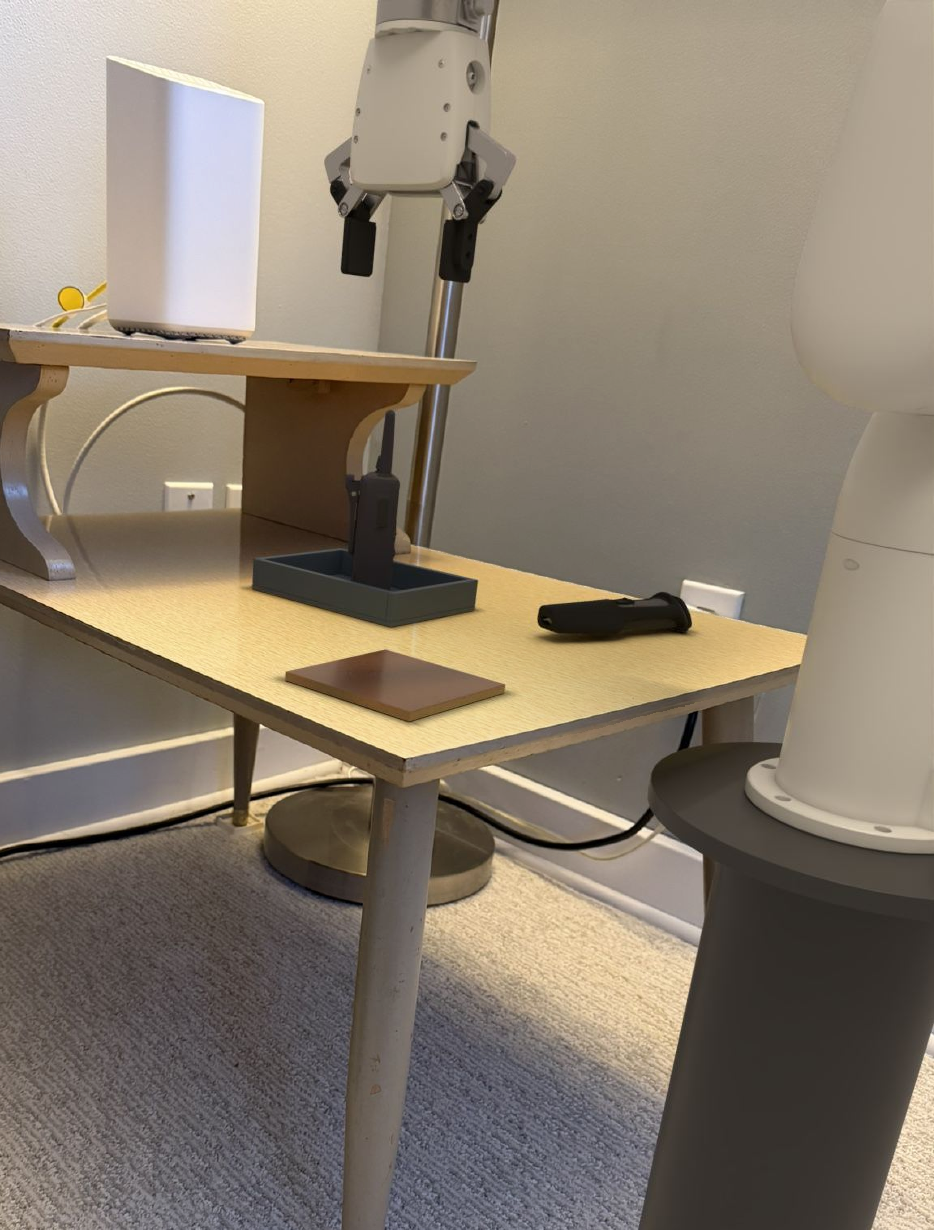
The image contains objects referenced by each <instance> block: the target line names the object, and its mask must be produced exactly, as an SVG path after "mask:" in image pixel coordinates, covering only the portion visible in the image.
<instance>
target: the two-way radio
mask: <svg viewBox="0 0 934 1230" xmlns="http://www.w3.org/2000/svg"><path fill="white" fill-rule="evenodd" d="M395 426H396V413H395V411H394V410H393V409H388V410H387V411H386V412H385V415H384V423H383V430H382V438H381V447H380V455H378V456H377V459H376V463H375V469H376V470H375V471H369V472H367V473H366V474H363V475H361V476H360V479H359V480H357V479H355V474H353V473H352V474H350V473H346V474H345V478H344V487H345V489H346V492H347V495H348V501H349V502H348V503H349V524H348V539H347V550H348V552H349V553H350V554H351V555H352V562H351V581H352V582H356V583H360V584H364V585H368V586H372V587H376V588H380V589H384V590H388V591H390V589H391V585H392V579H391V578H392V576H393V570H392V567H393V566H394V561H395V560H394V558H395V556H396V548H395V546H396V545H395V544H396V538H397V535H398V533H397V528H398V527H397V523H398V522H397V519H398V508H399V499H400V498H399V497H400V488H401V482H400V480H399V477H397V476H396V475H395V474H394V473H392V472H393V459H394V446H395V445H394V444H395V428H396V427H395ZM393 560H394V561H393Z"/></svg>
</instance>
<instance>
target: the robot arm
mask: <svg viewBox="0 0 934 1230" xmlns="http://www.w3.org/2000/svg"><path fill="white" fill-rule="evenodd" d="M494 8H495V0H377V2H376V14H375V15H376V16H375V27H374V37H372V38H370V39H369V41H368V45H367V48H366V53H365V56H364V61H363V64H362V70H361V74H360V79H359V84H358V89H357V96H356V103H355V108H354V115H353V124H352V133H351V136H350V137H349V138H348V139H347V140H345V141H344V142H342V143H341V144H340V145H339V146H337V147H336V148H335V149H334V150H332V151H331V152H329V153H328V154H327V155H326V156H325V158H324V160H323V163H324V168H325V172H326V176H327V180H328V183H329V193H330V195H331V197H332V199H333V201H334V203H335V204H336V206H337V214H338V216H339V217H340V218H342V219H344V220H343V231H342V246H341V258H340V272H341V274H343V275H348V276H354V277H355V276H356V277H361V278H370V277H371V276H372V275H373V274H374V273H373V272H374V263H375V261H374V259H375V249H376V240H377V239H376V238H377V222H376V221H370V220H371V219H372V217H373V215H374V214H375V212H376V211H377V210H378V209H379V207H380V205H381V204H382V202H383V201H384V199H385V197H387V195H389V196H391V197H396V198H410V199H411V198H413V199H414V198H417V199H419V198H420V199H423V198H425V199H428V198H429V199H443V201H444V203H445V205H446V206H447V208H448V210H449V212H450V214H451V216H452V217H451V219H444V223H443V228H442V236H441V237H442V238H441V247H440V257H439V264H438V265H439V266H438V277H439V279H440V280H441V281H447V282H452V283H453V282H454V283H459V284H460V283H461V284H469V283H470V281H471V278H472V271H473V270H472V269H473V267H474V263H475V255H476V245H477V237H478V229H479V226H481V225H483V224H484V223H485V222H486V221H487V217H488V213H489V211H490V210H491V209H492V208H493V207H494V206H495V205H496V204H497V202H498V201H499V200H500V199H501V197H502V194H503V187H504V186H506V184H507V182H508V180H509V178H510V176H511V174H512V172H513V170H514V168H515V166H516V163H517V158H516V155H515V154H514V153H513V152H511V150H509V149H507V148H506V147H505V146H503V144H500V143H499V142H498V141H497V140H495V139H494V138H493V137H491V119H492V117H491V116H492V77H491V76H492V75H491V63H490V62H491V61H490V49H489V43H488V41H487V40H484V39H482V38H480V36H481V28H482V19H483V18H484V17H488V16H491V15H492V14H493V11H494ZM826 170H827V171H826V174H825V177H824V179H823V180H824V181H823V184H822V186H821V190H820V193H819V196H818V200H817V203H816V206H815V209H814V212H813V216H812V218H811V219H812V220H811V222H810V225H809V229H808V232H807V236H806V238H805V242H804V245H803V248H802V252H801V255H800V259H799V263H798V266H797V271H796V275H795V279H794V284H793V289H792V290H793V291H792V297H791V306H790V332H791V333H790V334H791V340H792V344H793V349H794V352H795V355H796V359H797V361H798V363H799V366H800V367H801V369H802V371H803V373H804V374H805V376H807V378H808V379H809V381H810V382H811V384H813V385H814V386H815V388H817V389H818V390H819V391H820V392H822V394H824V395H826V396H827V397H829V398H830V399H832V400H833V401H835V402H837V403H839V404H842V405H844V406H847V407H851V408H854V409H858V410H863V411H869V412H872V415H871V417H870V419H869V421H868V423H867V425H866V427H865V429H864V431H863V433H862V435H861V438H860V439H859V441H858V444H857V446H856V448H855V450H854V452H853V454H852V456H851V460H850V463H849V465H848V468H847V470H846V473H845V476H844V479H843V483H842V485H841V489H840V492H839V496H838V500H837V504H836V508H835V512H834V517H833V521H832V526H831V529H830V533H829V537H828V541H827V545H826V546H827V547H826V550H825V555H824V560H823V564H822V568H821V573H820V577H819V581H818V586H817V590H816V595H815V599H814V604H813V608H812V613H811V617H810V621H809V624H808V625H809V626H808V630H807V634H806V639H805V643H804V648H803V652H802V657H801V661H800V664H799V668H798V669H799V670H798V676H797V678H796V683H795V688H794V692H793V696H792V702H791V705H790V709H789V715H788V719H787V723H786V726H785V732H784V736H783V741H782V743H783V744H782V749H781V753H780V758H774V759H768V760H765V761H762V762H759V763H757V764H756V765H754V766H753V767H751V768H750V770H749V771H748V773H747V778H746V783H745V792H746V795H747V797H748V798H749V799H750V800H751V801H752V803H753V804H754V805H755V806H756V807H758V808H759V809H760V810H762V811H763V812H764V813H766V814H767V815H769V816H771V817H773V818H774V819H776V820H778V821H780V822H782V823H784V824H786V825H789V826H791V827H793V828H795V829H798V830H800V831H803V832H806V833H809V834H812V835H814V836H817V837H820V838H824V839H827V840H831V841H834V842H838V843H841V844H846V845H850V846H855V847H859V848H864V849H870V850H876V851H883V852H890V853H901V854H925V855H930V854H934V0H886V1H885V2H884V3H883V7H882V8H881V10H880V12H879V14H878V16H877V19H876V20H875V23H874V26H873V28H872V30H871V33H870V35H869V38H868V40H867V44H866V47H865V49H864V53H863V56H862V58H861V62H860V65H859V67H858V71H857V73H856V77H855V80H854V84H853V86H852V90H851V93H850V97H849V99H848V103H847V106H846V109H845V112H844V117H843V118H842V121H841V125H840V128H839V131H838V134H837V138H836V141H835V145H834V148H833V152H832V154H831V158H830V161H829V163H828V168H827V169H826ZM351 182H352V183H351Z"/></svg>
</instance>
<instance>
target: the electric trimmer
mask: <svg viewBox="0 0 934 1230" xmlns="http://www.w3.org/2000/svg"><path fill="white" fill-rule="evenodd" d="M691 615H692V614H691V612H690V610H689V608H688V605H687V604H686V603H685V601H684V600H683V599H682V598H681V597H679V596H677V595H673V594H671V593H669V592H667V591H659V592H657V593H655V594H653V595H652V596H651V597H647V598H642V599H641V598H640V599H632V598H628V597H621V598H615V599H609V598H602V599H595V600H584V601H583V600H581V601H572V602H562V603H561V602H559V603H549V604H543V605H540V607H538V612H537V616H536V617H537V618H536V619H537V621H536V622H537V625H538V627H540V628H541V629H544V630H546V631H548V632H552V633H555V634H559V635H583V636H594V637H595V636H596V637H613V636H618V635H620V634H621V633H622V632H631V631H644V630H659V629H660V630H661V629H669V630H673V631H675V632H678V633H679V632H680V633H686V632H689V629H691V628H692V626H693V620H692V616H691Z"/></svg>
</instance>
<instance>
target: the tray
mask: <svg viewBox="0 0 934 1230" xmlns="http://www.w3.org/2000/svg"><path fill="white" fill-rule="evenodd" d="M393 561H394V566H393V567H392V570H393V576H392V578H391V579H392V585H391V589H390V591H388V590H384V589H380V588H376V587H372V586H368V585H364V584H360V583H356V582H352V581H351V562H352V555H351V554H350V553H349V552H348V548H347V549H346V548H344V547H343V548H342V547H340V548H339V547H338V548H331V549H321V550H313V551H306V552H298V553H297V552H296V553H289V554H288V553H287V554H280V555H279V554H278V555H272V556H271V555H270V556H263V557H254V558H253V561H252V562H253V564H252V577H251V578H252V580H251V581H252V582H251V583H252V584H251V589H252V590H255V591H258V592H261V593H265V594H269V595H273V596H277V597H279V598H284V599H288V600H290V601H295V602H298V603H300V604H301V603H302V604H305V605H309V606H312V607H316V608H320V609H324V610H328V611H330V612H334V613H337V614H341V615H345V616H350V617H352V618H357V619H359V620H363V621H367V622H370V623H374V624H377V625H381V626H385V627H389V628H393V627H394V628H395V627H400V626H403V625H408V624H413V623H419V622H424V621H429V620H434V619H439V618H443V617H449V616H454V615H458V614H463V613H468V612H473V611H475V610H476V602H477V593H478V584H479V579H477V578H472V577H468V576H464V575H458V574H454V573H450V572H445V571H441V570H437V569H433V568H428V567H424V566H420V565H415V564H412V563H407V562H403V561H402V562H401V561H398V560H394V559H393Z"/></svg>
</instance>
